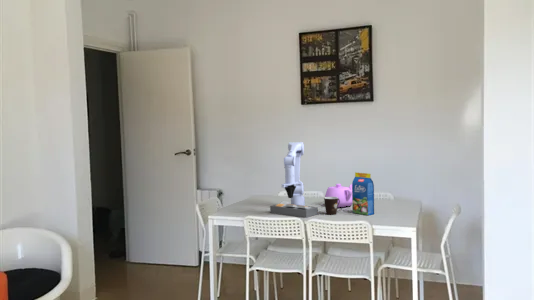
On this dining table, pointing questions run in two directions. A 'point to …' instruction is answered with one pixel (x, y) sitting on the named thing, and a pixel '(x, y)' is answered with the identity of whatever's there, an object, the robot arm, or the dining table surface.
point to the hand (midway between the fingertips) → (290, 197)
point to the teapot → (341, 194)
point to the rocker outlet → (304, 207)
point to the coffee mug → (331, 205)
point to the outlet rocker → (283, 203)
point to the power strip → (294, 211)
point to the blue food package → (363, 194)
